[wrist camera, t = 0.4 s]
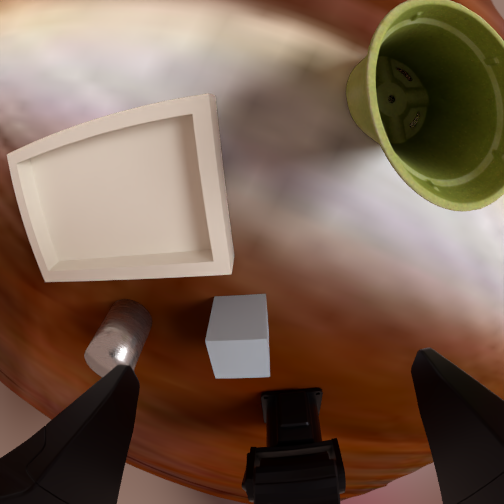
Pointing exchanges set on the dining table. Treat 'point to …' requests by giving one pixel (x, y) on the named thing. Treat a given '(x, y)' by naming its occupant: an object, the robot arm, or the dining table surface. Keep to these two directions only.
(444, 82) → the plant pot
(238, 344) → the painted block
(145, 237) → the parts tray
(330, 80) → the dining table surface
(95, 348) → the metal cylinder
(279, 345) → the dining table surface
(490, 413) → the robot arm
